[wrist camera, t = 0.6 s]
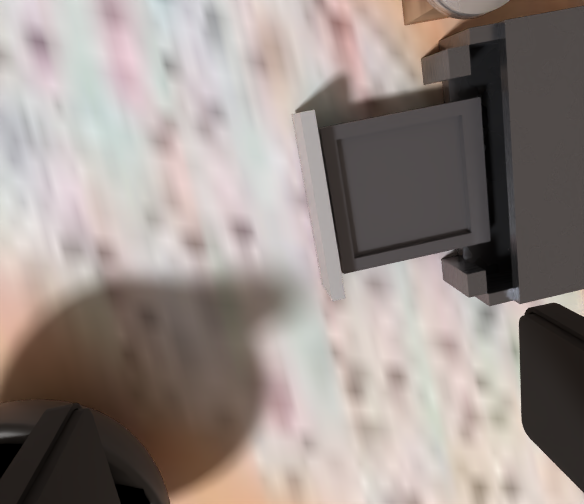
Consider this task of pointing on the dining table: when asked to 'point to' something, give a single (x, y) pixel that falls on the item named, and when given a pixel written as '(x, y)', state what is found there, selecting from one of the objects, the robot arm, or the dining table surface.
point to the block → (419, 12)
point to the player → (523, 152)
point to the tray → (393, 186)
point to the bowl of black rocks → (115, 440)
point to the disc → (466, 7)
